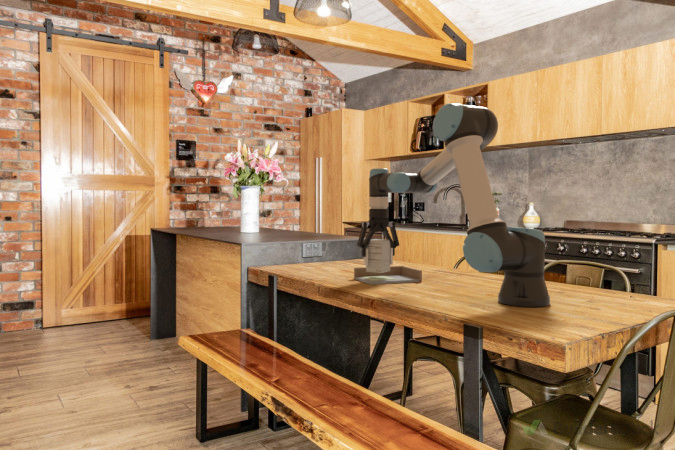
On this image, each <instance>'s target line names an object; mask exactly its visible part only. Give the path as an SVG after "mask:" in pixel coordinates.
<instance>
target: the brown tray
mask: <svg viewBox="0 0 675 450" xmlns="http://www.w3.org/2000/svg"><path fill="white" fill-rule="evenodd" d="M368 276H387V277H390V278H394V279H395V280H376V281H371V280H368V279H365V278H362V277H368ZM422 276H423V272H422V270H421V269H417V268H413V267H409V266H405V265H393V266H391V265H390V271H388V272H384V273H375V272H366V266H364V267H353V279H354V280H355V279H356V280H355V281H359V282H362V283H364V284H367V285H370V286H373V285H388V284H392V283H393V284H409V283H422V282H423V277H422Z"/></svg>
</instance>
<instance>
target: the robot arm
mask: <svg viewBox="0 0 675 450" xmlns="http://www.w3.org/2000/svg"><path fill="white" fill-rule="evenodd" d="M432 124H433V125H432V131H433V134H434V137H435V138H436V139H438V140H439V141H440V142H443V144H444V147H445V148H444V149H443V150H442V151H440V153H439V154H438V155H436V157H434V158H433V159H432V160H431V161H430V162H428V164H426V165H425V166H424V167H423V168H422V169H420V171H418V172H417V173H415V172H414V173H411V172H409V173H408V172H402V171H401V172H400V171H394V172H389V169H388V168H371V169H370V170H369V178H368V183H369V184H368V189H369V192H368V194H369V195H368V197H369V199H368V200H369V203H368V205H369V206H368V207H369V210H368V218H369V219H368V221H362V222H361V223H360V224H361V225H360V226H361V229H360V232H359V233H360V234H359V237H358V240H357V242H356V243H357V244H356V246H357V247H359V248H361V257H362V258H363V266H365V267H366V266H368V249H367V246H368V244H369V242H370V240H371V239H372V238H373V236H374V234H375V233H378V232H379V233H380V232H381V233H382V234H383V236H384V239H388V240H389V241H390V266H391V265H393V266H394V263H393V261H394V260H393V259H394V257H395V256H396V255H395V254H396V252H395V251H396V248H397V247H399V246H400V242H399V241H400V240H399V237H398V233H397V230H396V222H395V221H389V209H388V208H389V193H390V194H392V193H393V194H411V193H412V194H423V195H424V194H431V193H434V192H435V190H436V188H437V187H438V182H439V181H441V180H442V179H443V178H444V177H445V176H447V175H448V174H449V173H450V172H452V171H453V170H454V169H455V171H456V174H457V175H456V176H457V178H458V183H459V186H460V190H461V194H462V197H463V198H462V199H463V201H464V205H465V206H464V207H465V209H466V213H467V218H468V221H469V227H468V228H467V230H466V235H467V236H466V237H465V239H464V241H463V243H464V244H463V245H462V252H463V253H462V254H463V256H464V258H465V261H466V263H467V264H468V265H469V266H470V267H471V268H472V269H474V270H475V271H477V272H480V273H495V272H500V271H501V272H502V271H504V272H503V273H504V274H503V275H504V277H503V280H502V283H501V286H500V289H499V292H498V294H497V301H498V303H500V304H503V305H508V306H512V307H513V306H515V307H524V308H527V307H528V308H538V307H547V306H550V305H551V303H550V302H551V297H550V295H549V291H548V288H547V283H546V281H545V262H546V261H545V254H546V250H545V249H546V238H545V237H546V235H545V232H543V230H541V229H536V228H529V227H518V226H507V223H506V221H505V220H502V219H501V218H500V217H499V214H498V213H499V212H498V210H497V206H496V202H495V199H494V196H493V191H492V187H491V184H490V180H489V177H488V171H487V170H486V166H485V161H484V158H483V155H482V154H483V153H482V150H484V149H485V148H486V147H488V146H489V145H490V144H491V143H492V142H493V140H494V139H495V138H496V136H497V133H498V130H499V122H498V118H497V116H496V114H495V113H494V112H493V111H492V110H491V109H489V108H487V107H484V106H476V105H469V104H461V103H460V102H455V103H452V102H451V103H450V102H449V103H446V104H444V105H442V106H441V107H440V108H439V110H437V112H436V113H435V116H434V119H433V123H432ZM368 227H369V230H368ZM388 227H389V230H390V232H389V230H388ZM367 230H368V233H367Z"/></svg>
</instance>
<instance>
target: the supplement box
mask: <svg viewBox="0 0 675 450" xmlns="http://www.w3.org/2000/svg"><path fill="white" fill-rule="evenodd" d="M367 249H368V266H366V265H365V267H366V272H375V273H384V272H388V271H390V266H391V264H390V241H389V240H388V239H386V238H383V239H382V238H373V239H372V238H371V240H370V242H369V244H368V246H367Z"/></svg>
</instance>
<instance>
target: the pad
mask: <svg viewBox="0 0 675 450" xmlns="http://www.w3.org/2000/svg"><path fill="white" fill-rule="evenodd" d="M362 278H365V279H368V280H371V281H376V280H395V279H394V278H390V277H387V276H368V277H362Z"/></svg>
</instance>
